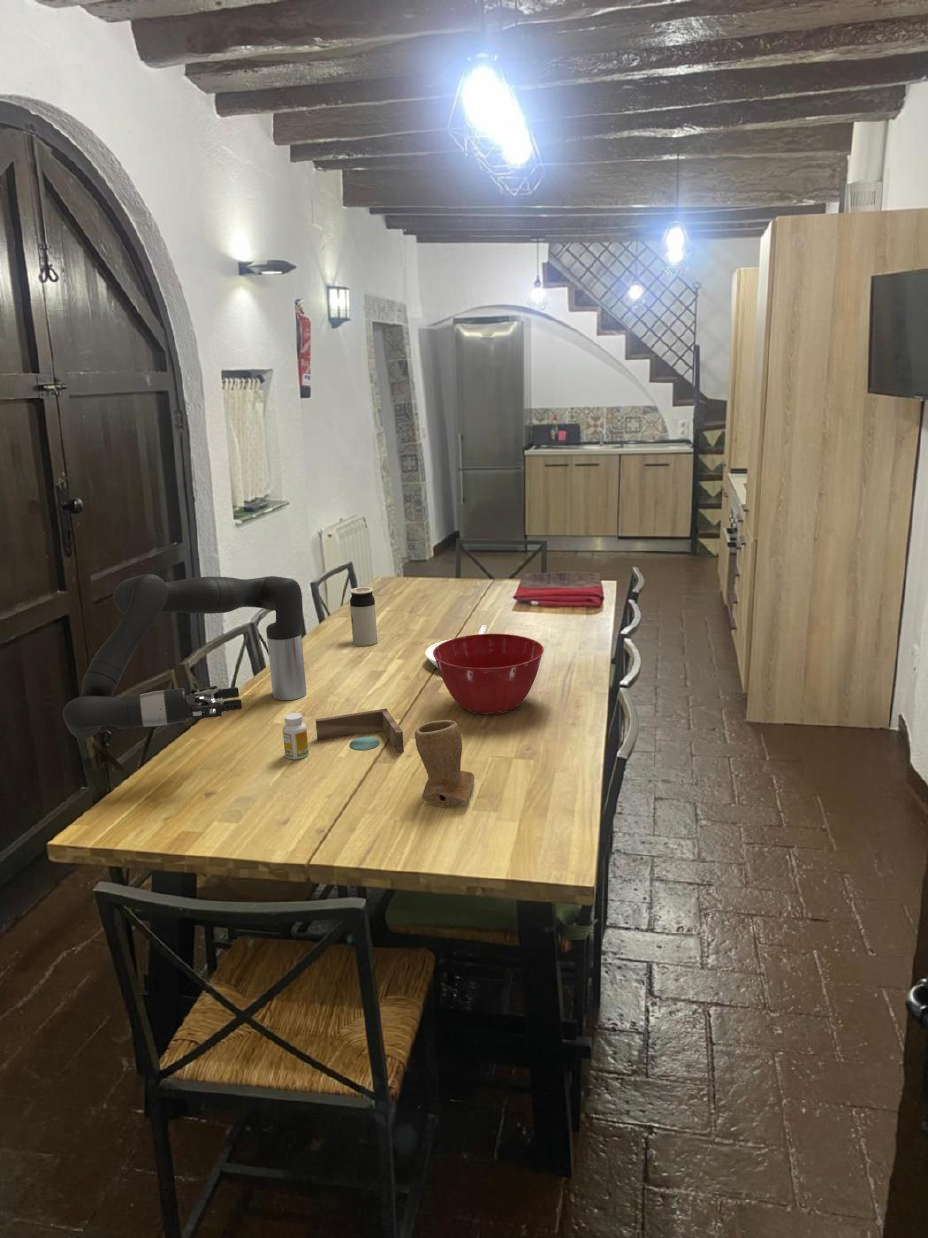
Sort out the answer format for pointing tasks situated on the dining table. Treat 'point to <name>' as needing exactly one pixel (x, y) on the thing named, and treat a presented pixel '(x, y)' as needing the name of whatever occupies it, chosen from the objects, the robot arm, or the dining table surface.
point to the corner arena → (361, 728)
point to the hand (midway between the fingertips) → (240, 697)
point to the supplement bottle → (295, 737)
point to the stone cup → (443, 764)
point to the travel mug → (363, 616)
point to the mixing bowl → (489, 670)
